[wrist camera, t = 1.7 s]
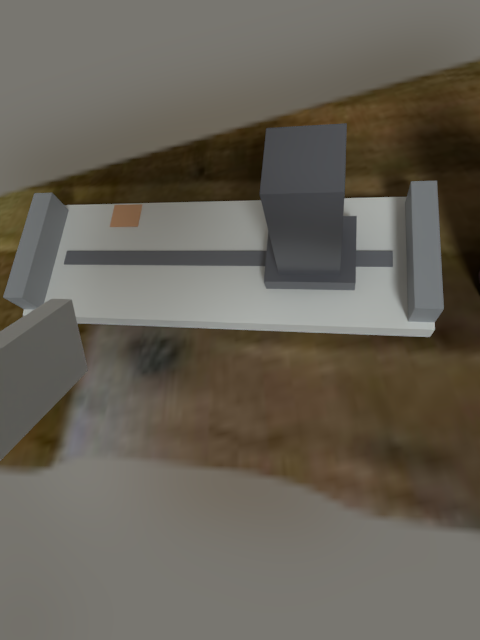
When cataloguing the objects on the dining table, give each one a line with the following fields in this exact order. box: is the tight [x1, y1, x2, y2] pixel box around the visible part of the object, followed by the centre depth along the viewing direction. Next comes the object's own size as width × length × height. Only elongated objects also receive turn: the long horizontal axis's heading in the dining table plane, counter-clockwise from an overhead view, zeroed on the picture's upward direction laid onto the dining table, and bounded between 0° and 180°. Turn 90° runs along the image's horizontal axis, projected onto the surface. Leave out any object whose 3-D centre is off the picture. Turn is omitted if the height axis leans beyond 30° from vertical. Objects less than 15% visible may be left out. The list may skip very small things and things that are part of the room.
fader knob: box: [260, 123, 357, 290], centre depth 26 cm, size 6×5×10 cm
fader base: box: [3, 181, 444, 337], centre depth 32 cm, size 30×10×4 cm, turn 84°
